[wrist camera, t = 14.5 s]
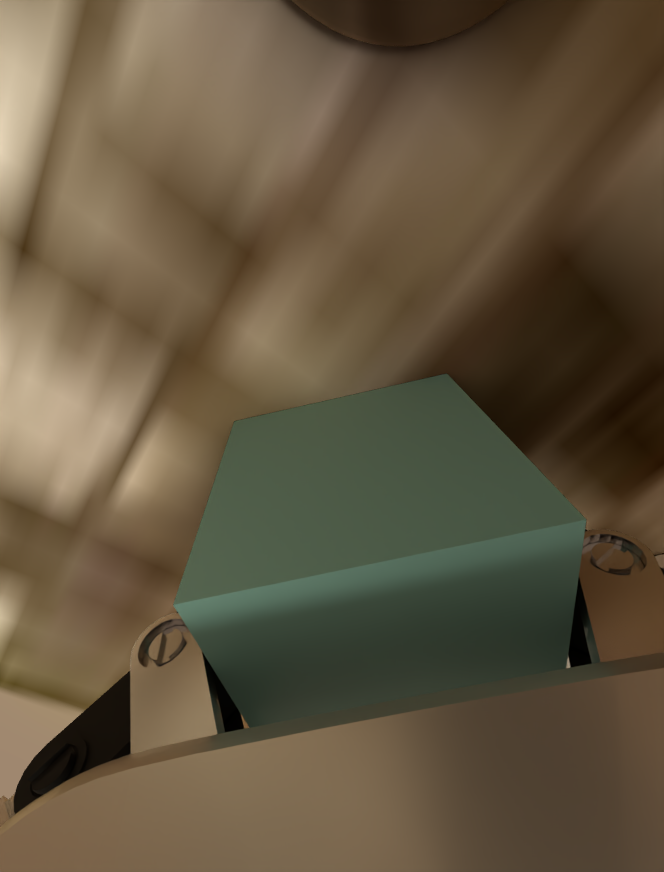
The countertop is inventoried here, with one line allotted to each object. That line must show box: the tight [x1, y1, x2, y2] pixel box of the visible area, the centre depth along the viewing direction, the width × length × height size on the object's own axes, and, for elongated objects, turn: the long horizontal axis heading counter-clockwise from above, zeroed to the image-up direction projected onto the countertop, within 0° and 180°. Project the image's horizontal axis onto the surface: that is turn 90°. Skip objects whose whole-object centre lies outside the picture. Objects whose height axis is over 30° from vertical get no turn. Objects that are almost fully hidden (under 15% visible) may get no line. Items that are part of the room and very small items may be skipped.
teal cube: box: [173, 374, 586, 728], centre depth 10 cm, size 6×6×6 cm
